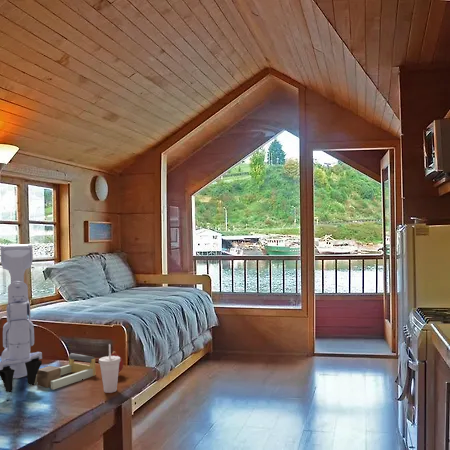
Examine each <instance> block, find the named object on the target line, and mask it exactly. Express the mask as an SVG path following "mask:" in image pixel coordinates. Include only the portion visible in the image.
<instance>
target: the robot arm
mask: <svg viewBox="0 0 450 450" xmlns="http://www.w3.org/2000/svg"><path fill="white" fill-rule="evenodd" d="M33 253H34V252H33V245H32V243H25V244H1V246H0V262H1V264H0V265H1V267H2V269H3V270H6V271H8V273H9V275H10V284H9V285H8V286H7V304H6V322H5V323H4V324H3V326H2V347H3V348H4V350H3V351H2V352H1V356H0V357H1V358H0V378H1V380H2V383H3V386H4V389H5V392H6V393H10V394H11V393H13V389H14V387H13V385H14V383H13V380H14V379H21V378H24V377H27V378H26V379H27V385H29V386H35V384H34V383H35V379H36V375H37V372H38V370H39V369H41V368H40V367H41V366H42V363H43V362H42V359H43V352H41V351H36V352H31V347H33V346H34V345H35V328H34V323H33V321H31V303H30V299H29V290H28V289H29V287H28V284H27V283H26V282H25V273H26V270H29V269H30V268H32V265H33V259H34V257H33V256H34V254H33Z"/></svg>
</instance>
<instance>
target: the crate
mask: <svg viewBox="0 0 450 450" xmlns="http://www.w3.org/2000/svg"><path fill="white" fill-rule="evenodd" d="M59 378H62V375H61V369H60V368H59V366H58V367H57V366H54V365H48V366H45V367H42V368H39V370H38V372H37V383H36V385H37V387H43V388H51V381H53V380H56V379H59Z"/></svg>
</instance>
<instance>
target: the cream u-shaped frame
mask: <svg viewBox="0 0 450 450" xmlns="http://www.w3.org/2000/svg"><path fill="white" fill-rule="evenodd" d="M75 361H79V362H80V361H81V362H86V363H89V364H85V363H79V362H75ZM58 367H59V366H58ZM59 368H60V369H61V378H59V379H56V380H53V381H51V387H50V390H56V389H60V388H63V387H65V386H68V385H72V384H73V383H77V382H81V381H83V380H86V379H89V378H91V377H94V376H96V375H97V374H96V358H95V356H91V355H86V354H78V353H74V352H73V353H72V352H71V353H69V355H68V364H66V365H63V366H60V367H59ZM70 373H72V374H70ZM67 374H68V375H67ZM63 375H65V376H63ZM62 376H63V377H62ZM82 379H83V380H82ZM35 384H36V385H37V375H36V379H35V383H34V385H35Z"/></svg>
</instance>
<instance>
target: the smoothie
mask: <svg viewBox="0 0 450 450" xmlns="http://www.w3.org/2000/svg"><path fill="white" fill-rule="evenodd" d="M111 347H112V346H111V343H109V344H108V356H107V355H106V356H102V357H100V358H99V359H98V364H99V365H100V366H99V367H100V373H101V378H102V379H101V381H102V387H103V392H104V393H108V394H112V393H115V392H117V391H118V390H117V389H118V382H119V381H118V379H119V373H120V372H119V362H120V361H121V360H120V357H121V356H120V357H118V356H111V355H112V353H111V350H112V349H111ZM118 372H119V373H118Z"/></svg>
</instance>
